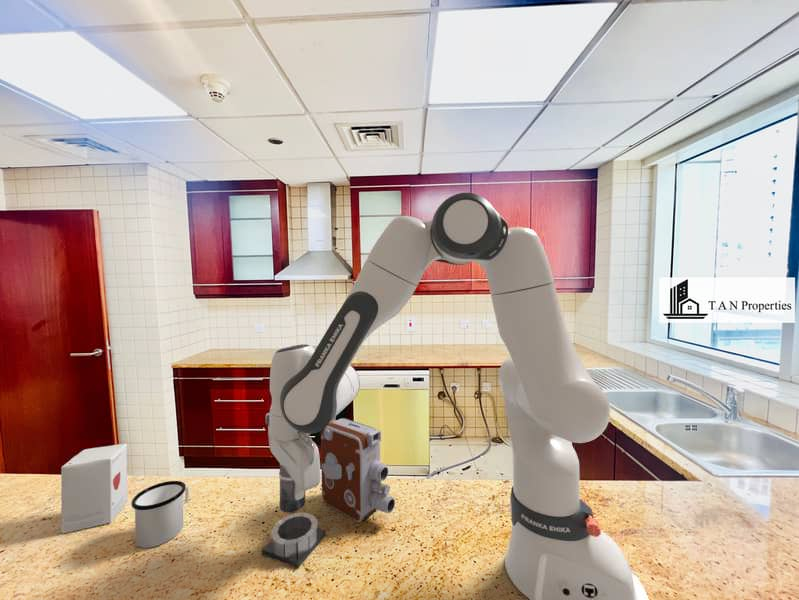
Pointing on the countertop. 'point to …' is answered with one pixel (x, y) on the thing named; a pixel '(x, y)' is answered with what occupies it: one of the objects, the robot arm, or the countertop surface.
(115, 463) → the supplement box
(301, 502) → the lens
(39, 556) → the countertop surface
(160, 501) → the mug
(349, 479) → the cine camera
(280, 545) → the mount
